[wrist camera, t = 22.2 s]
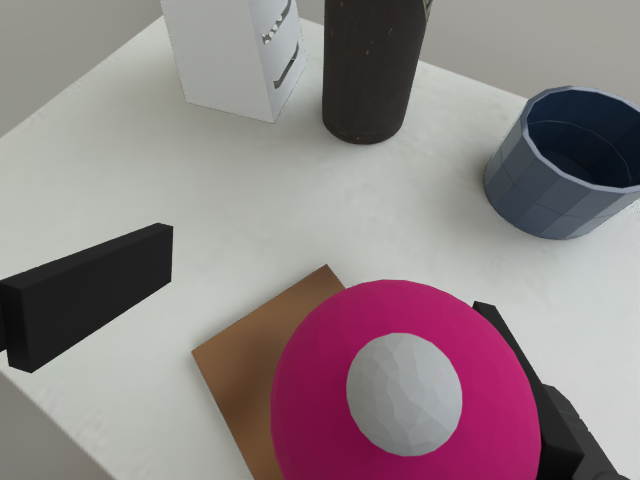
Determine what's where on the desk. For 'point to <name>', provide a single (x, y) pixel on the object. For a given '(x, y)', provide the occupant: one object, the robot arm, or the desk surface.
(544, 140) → the pot
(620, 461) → the desk surface
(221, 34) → the grater
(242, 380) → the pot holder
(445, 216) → the desk surface
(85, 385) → the desk surface
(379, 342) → the pepper mill
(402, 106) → the container
